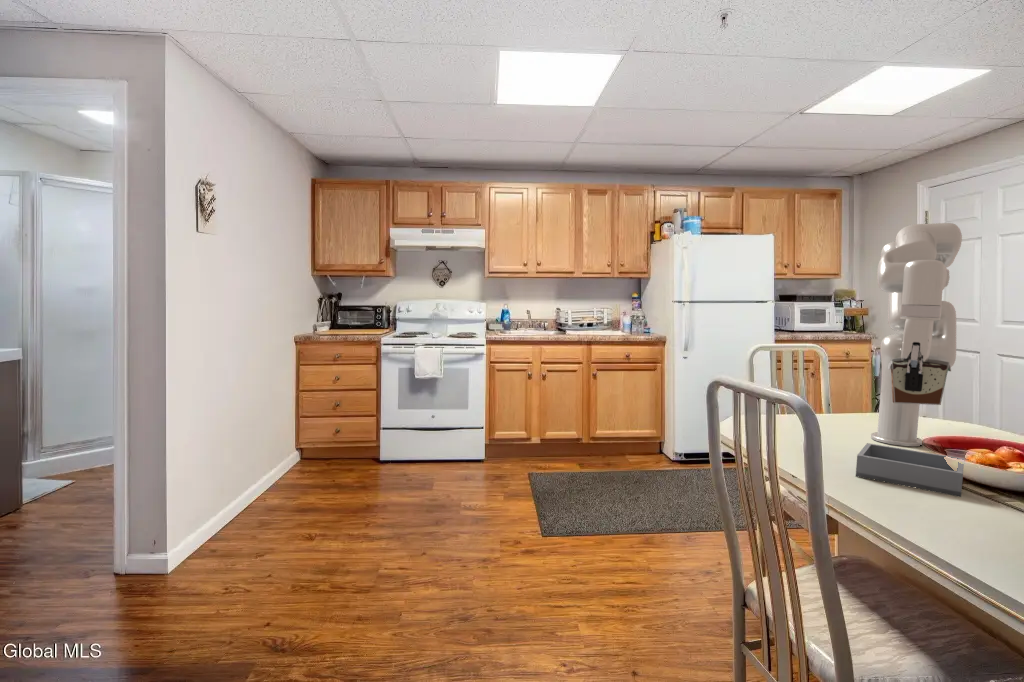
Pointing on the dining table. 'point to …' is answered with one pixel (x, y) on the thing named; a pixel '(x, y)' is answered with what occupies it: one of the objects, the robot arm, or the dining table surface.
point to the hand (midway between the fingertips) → (914, 388)
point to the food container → (931, 383)
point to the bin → (909, 468)
